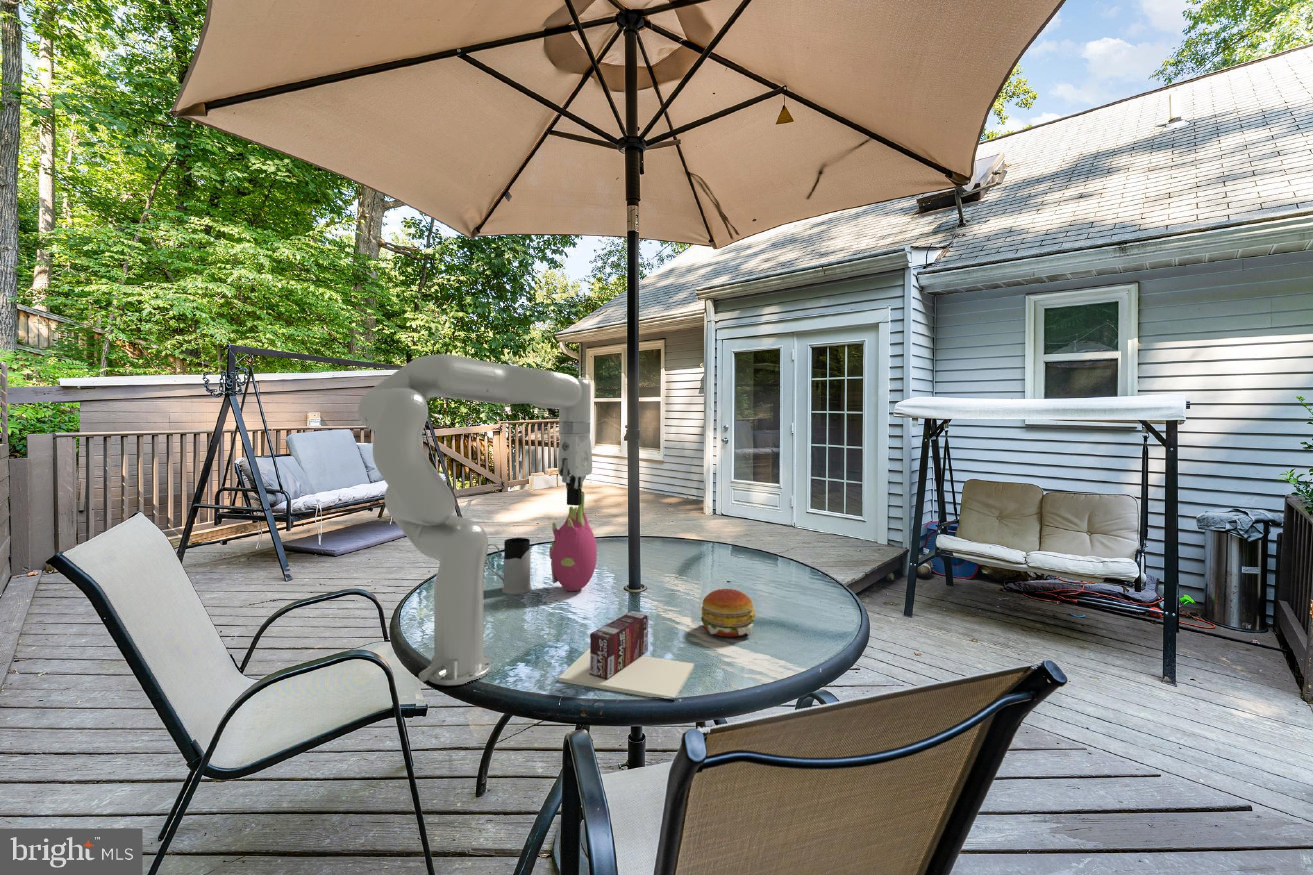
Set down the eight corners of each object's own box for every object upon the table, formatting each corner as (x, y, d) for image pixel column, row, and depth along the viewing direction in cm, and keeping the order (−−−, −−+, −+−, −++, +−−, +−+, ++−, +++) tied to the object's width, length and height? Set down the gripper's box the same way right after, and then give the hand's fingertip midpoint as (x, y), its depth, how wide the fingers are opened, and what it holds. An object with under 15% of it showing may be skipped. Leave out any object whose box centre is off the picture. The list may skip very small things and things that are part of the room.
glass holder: (527, 594, 166) (528, 543, 165) (479, 593, 166) (479, 543, 165) (534, 585, 174) (534, 537, 174) (489, 584, 175) (489, 536, 174)
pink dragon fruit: (561, 580, 180) (561, 487, 179) (602, 582, 178) (603, 488, 177) (542, 598, 162) (542, 494, 161) (588, 601, 160) (588, 496, 159)
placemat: (674, 701, 104) (674, 697, 104) (558, 681, 112) (558, 677, 112) (693, 667, 119) (694, 663, 119) (589, 651, 126) (589, 647, 126)
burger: (723, 616, 149) (724, 579, 149) (766, 631, 140) (767, 591, 139) (689, 629, 140) (690, 590, 139) (732, 646, 130) (733, 603, 130)
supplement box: (649, 651, 124) (607, 681, 111) (631, 646, 127) (587, 675, 113) (650, 613, 124) (607, 638, 110) (631, 609, 126) (588, 633, 113)
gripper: (575, 430, 128) (574, 510, 129) (601, 429, 142) (600, 501, 143) (545, 429, 130) (545, 508, 131) (574, 428, 145) (573, 499, 145)
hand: (574, 504), depth 137 cm, fingers closed
